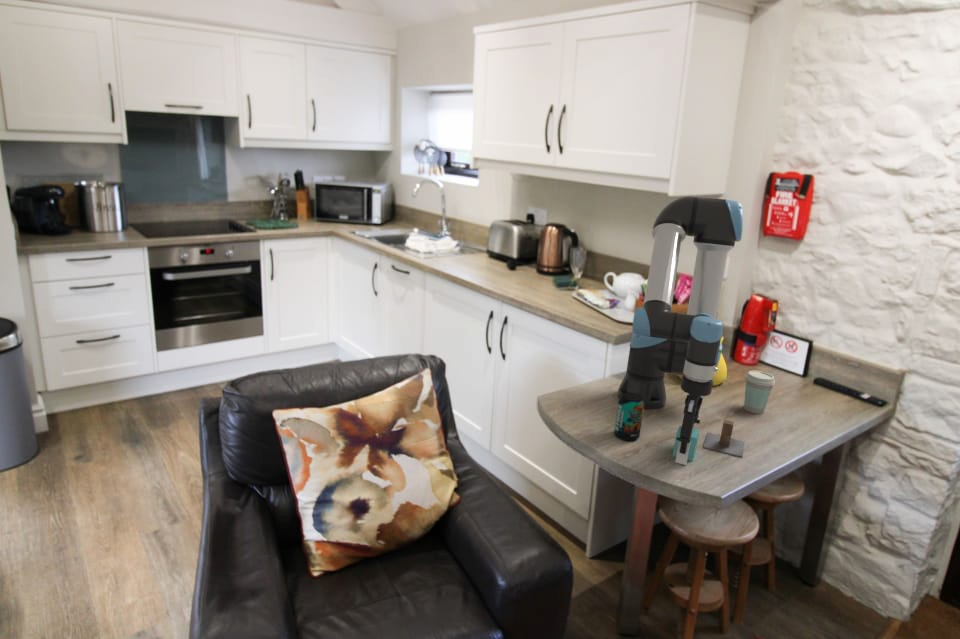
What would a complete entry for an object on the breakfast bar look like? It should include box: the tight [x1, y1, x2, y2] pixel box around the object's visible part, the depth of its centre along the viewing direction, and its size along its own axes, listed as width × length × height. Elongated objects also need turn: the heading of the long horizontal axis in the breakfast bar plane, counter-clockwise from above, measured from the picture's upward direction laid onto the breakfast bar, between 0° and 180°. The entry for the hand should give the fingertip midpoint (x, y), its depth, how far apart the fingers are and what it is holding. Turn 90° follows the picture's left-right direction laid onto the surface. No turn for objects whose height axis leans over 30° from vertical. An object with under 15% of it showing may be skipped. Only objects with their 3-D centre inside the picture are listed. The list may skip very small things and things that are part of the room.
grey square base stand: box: [702, 419, 745, 458], centre depth 172 cm, size 10×10×7 cm
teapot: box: [677, 336, 728, 387], centre depth 222 cm, size 25×18×14 cm
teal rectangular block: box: [672, 425, 701, 462], centre depth 166 cm, size 5×5×7 cm
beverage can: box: [613, 392, 645, 442], centre depth 173 cm, size 7×7×12 cm
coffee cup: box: [743, 370, 776, 415], centre depth 197 cm, size 9×8×12 cm
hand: (684, 454), depth 166 cm, fingers open, 11 cm apart
